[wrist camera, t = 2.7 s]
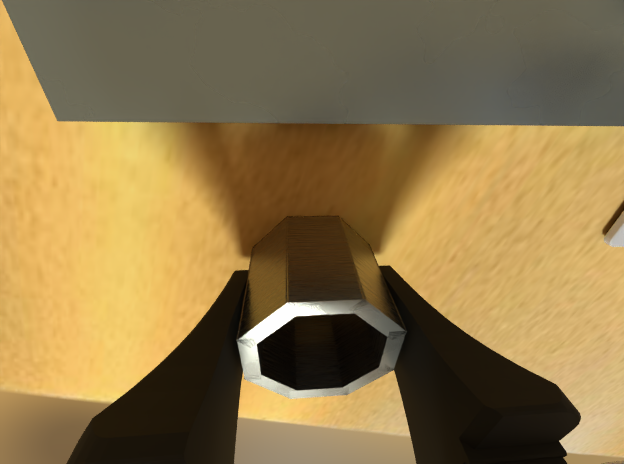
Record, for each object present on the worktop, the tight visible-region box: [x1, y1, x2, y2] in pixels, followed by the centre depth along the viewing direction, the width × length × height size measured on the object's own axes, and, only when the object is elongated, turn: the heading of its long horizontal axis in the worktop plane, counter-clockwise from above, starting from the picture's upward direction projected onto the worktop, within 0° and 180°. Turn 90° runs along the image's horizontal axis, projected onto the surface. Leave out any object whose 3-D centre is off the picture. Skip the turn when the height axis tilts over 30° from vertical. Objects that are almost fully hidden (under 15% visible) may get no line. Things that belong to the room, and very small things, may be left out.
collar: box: [236, 216, 407, 399], centre depth 12 cm, size 6×6×5 cm
